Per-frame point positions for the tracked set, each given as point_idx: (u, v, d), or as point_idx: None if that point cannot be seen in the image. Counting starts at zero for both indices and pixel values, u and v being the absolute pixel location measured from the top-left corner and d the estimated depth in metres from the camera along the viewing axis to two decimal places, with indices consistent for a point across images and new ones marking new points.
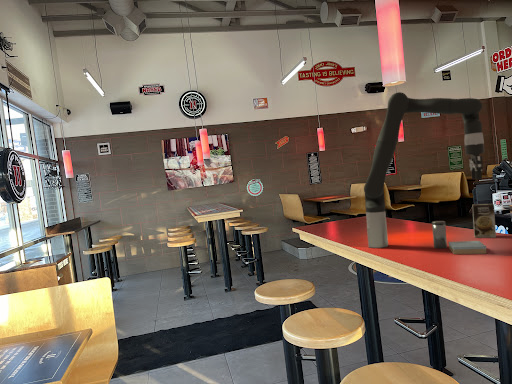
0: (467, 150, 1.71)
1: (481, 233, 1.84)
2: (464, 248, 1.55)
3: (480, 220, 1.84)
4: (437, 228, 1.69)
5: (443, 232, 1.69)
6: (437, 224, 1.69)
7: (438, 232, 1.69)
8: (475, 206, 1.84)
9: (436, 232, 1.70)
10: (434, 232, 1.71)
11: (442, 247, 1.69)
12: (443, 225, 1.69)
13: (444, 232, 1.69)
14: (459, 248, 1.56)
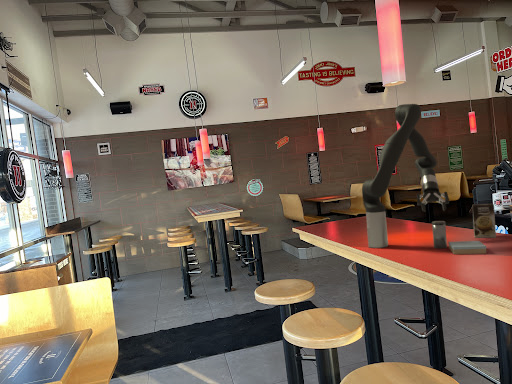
0: (434, 185, 1.88)
1: (481, 233, 1.84)
2: (464, 248, 1.55)
3: (480, 220, 1.84)
4: (437, 228, 1.69)
5: (443, 232, 1.69)
6: (437, 224, 1.69)
7: (438, 232, 1.69)
8: (475, 206, 1.84)
9: (436, 232, 1.70)
10: (434, 232, 1.71)
11: (442, 247, 1.69)
12: (443, 225, 1.69)
13: (444, 232, 1.69)
14: (459, 248, 1.56)
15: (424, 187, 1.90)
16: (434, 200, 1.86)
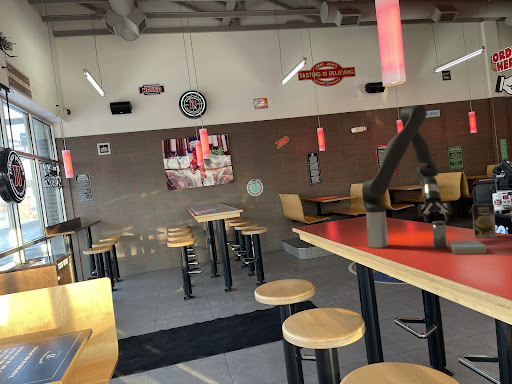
0: (436, 194, 1.83)
1: (481, 233, 1.84)
2: (464, 248, 1.55)
3: (480, 220, 1.84)
4: (437, 228, 1.69)
5: (443, 232, 1.69)
6: (437, 224, 1.69)
7: (438, 232, 1.69)
8: (475, 206, 1.84)
9: (436, 232, 1.70)
10: (434, 232, 1.71)
11: (442, 247, 1.69)
12: (443, 225, 1.69)
13: (444, 232, 1.69)
14: (459, 248, 1.56)
15: (426, 197, 1.85)
16: (436, 210, 1.81)
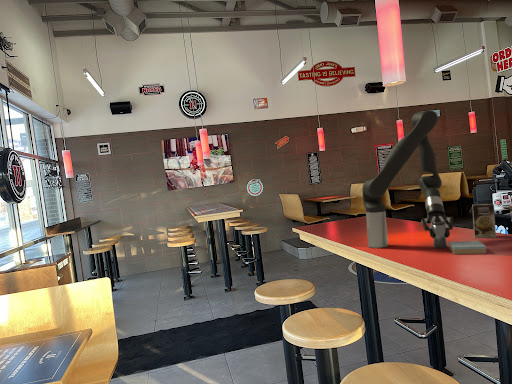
0: (440, 207, 1.76)
1: (481, 233, 1.84)
2: (464, 248, 1.55)
3: (480, 220, 1.84)
4: (437, 228, 1.69)
5: (443, 232, 1.69)
6: (437, 224, 1.69)
7: (438, 232, 1.69)
8: (475, 206, 1.84)
9: (436, 232, 1.70)
10: (434, 232, 1.71)
11: (442, 247, 1.69)
12: (443, 225, 1.69)
13: (444, 232, 1.69)
14: (459, 248, 1.56)
15: (429, 209, 1.78)
16: None
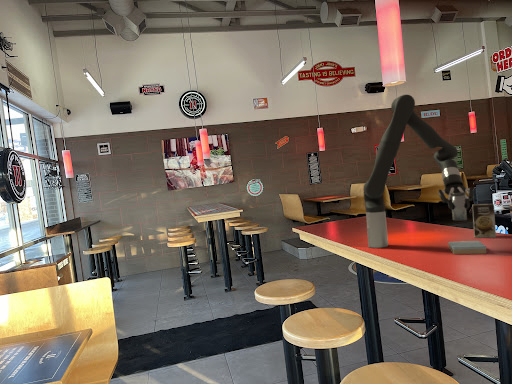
0: (458, 178, 1.67)
1: (481, 233, 1.84)
2: (464, 248, 1.55)
3: (480, 220, 1.84)
4: (456, 199, 1.60)
5: (463, 203, 1.60)
6: (457, 195, 1.60)
7: (458, 203, 1.60)
8: (475, 206, 1.84)
9: (455, 203, 1.61)
10: (453, 203, 1.62)
11: (462, 219, 1.60)
12: (463, 196, 1.60)
13: (464, 203, 1.60)
14: (459, 248, 1.56)
15: (446, 181, 1.69)
16: None
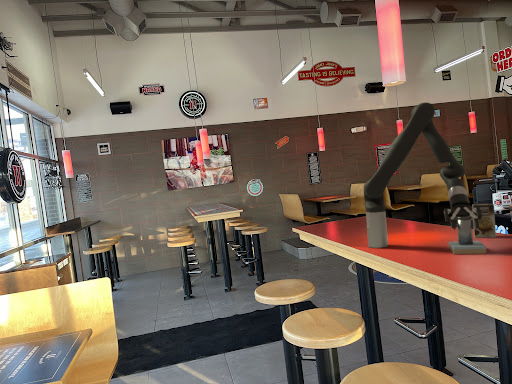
0: (465, 198, 1.64)
1: (481, 233, 1.84)
2: (464, 248, 1.55)
3: (480, 220, 1.84)
4: (462, 223, 1.58)
5: (469, 228, 1.57)
6: (463, 219, 1.58)
7: (464, 227, 1.58)
8: (475, 206, 1.84)
9: (461, 227, 1.58)
10: (459, 227, 1.59)
11: (468, 243, 1.58)
12: (469, 220, 1.57)
13: (470, 227, 1.58)
14: (459, 248, 1.56)
15: (452, 200, 1.67)
16: (465, 215, 1.62)
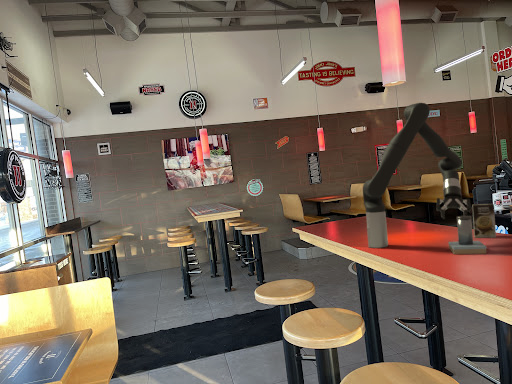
0: (457, 190, 1.76)
1: (481, 233, 1.84)
2: (464, 248, 1.55)
3: (480, 220, 1.84)
4: (462, 223, 1.58)
5: (469, 228, 1.57)
6: (463, 219, 1.58)
7: (464, 227, 1.58)
8: (475, 206, 1.84)
9: (461, 227, 1.58)
10: (459, 227, 1.59)
11: (468, 243, 1.58)
12: (469, 220, 1.57)
13: (470, 227, 1.58)
14: (459, 248, 1.56)
15: (445, 192, 1.78)
16: (455, 207, 1.74)
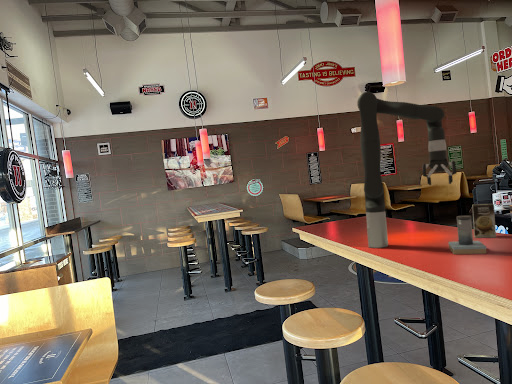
0: (443, 155, 1.74)
1: (481, 233, 1.84)
2: (464, 248, 1.55)
3: (480, 220, 1.84)
4: (462, 223, 1.58)
5: (469, 228, 1.57)
6: (463, 219, 1.58)
7: (464, 227, 1.58)
8: (475, 206, 1.84)
9: (461, 227, 1.58)
10: (459, 227, 1.59)
11: (468, 243, 1.58)
12: (469, 220, 1.58)
13: (470, 227, 1.58)
14: (459, 248, 1.56)
15: (431, 157, 1.77)
16: None
